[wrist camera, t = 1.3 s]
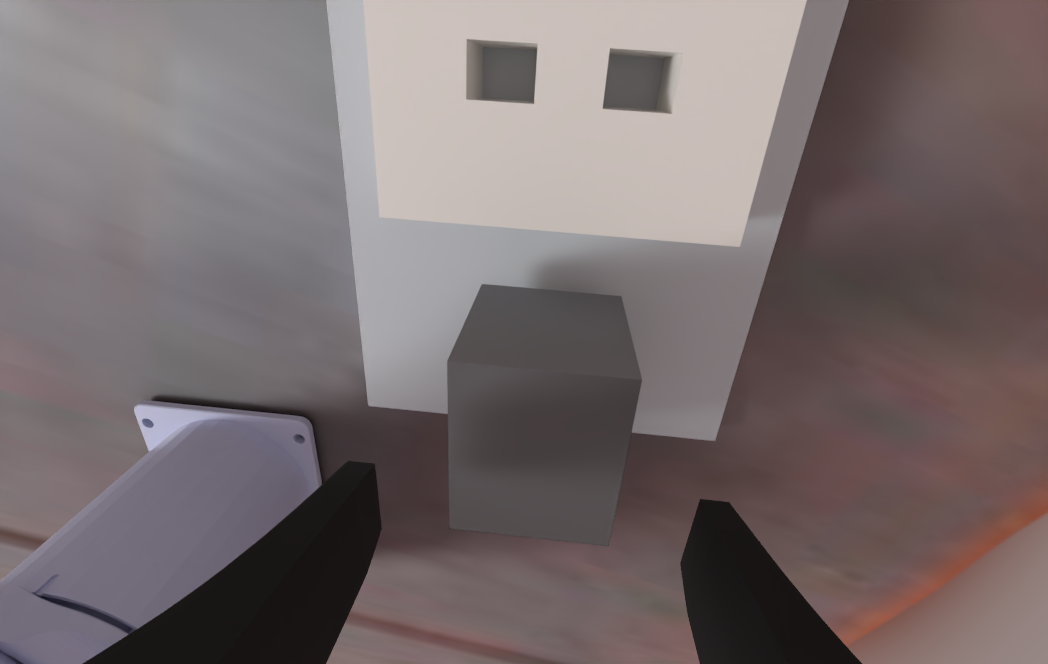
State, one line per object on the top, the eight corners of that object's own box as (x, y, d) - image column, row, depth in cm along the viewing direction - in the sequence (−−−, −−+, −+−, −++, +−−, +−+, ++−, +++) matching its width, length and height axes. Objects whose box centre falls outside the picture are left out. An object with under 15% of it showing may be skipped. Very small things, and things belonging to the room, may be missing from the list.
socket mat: (708, 425, 20) (715, 441, 19) (376, 392, 21) (368, 405, 20) (896, -221, 11) (923, -246, 11) (318, -242, 12) (298, -268, 11)
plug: (482, 434, 20) (449, 566, 14) (487, 271, 17) (447, 361, 11) (592, 445, 20) (600, 583, 14) (617, 282, 17) (642, 379, 11)
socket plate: (406, 199, 16) (371, 222, 13) (384, -234, 11) (325, -338, 9) (715, 224, 15) (747, 253, 13) (822, -218, 11) (907, -322, 8)
